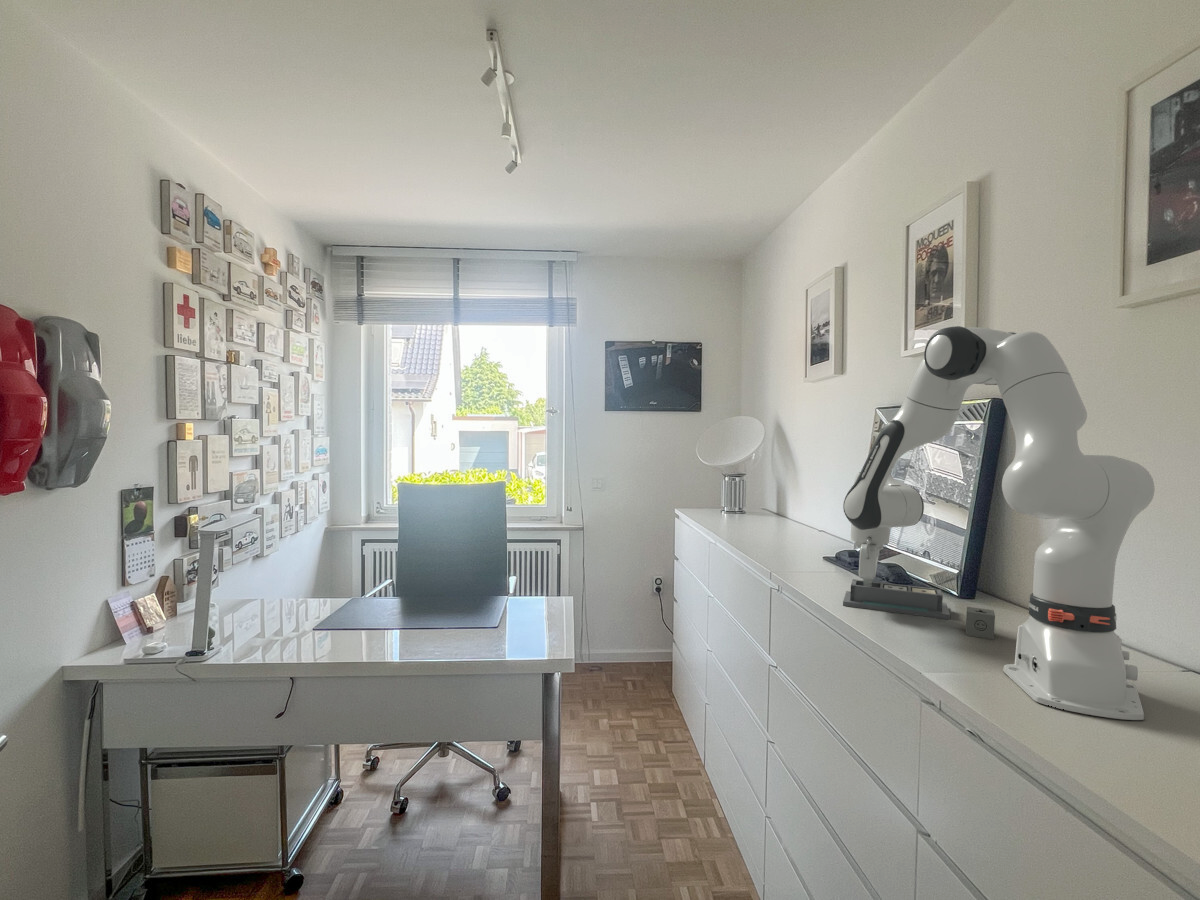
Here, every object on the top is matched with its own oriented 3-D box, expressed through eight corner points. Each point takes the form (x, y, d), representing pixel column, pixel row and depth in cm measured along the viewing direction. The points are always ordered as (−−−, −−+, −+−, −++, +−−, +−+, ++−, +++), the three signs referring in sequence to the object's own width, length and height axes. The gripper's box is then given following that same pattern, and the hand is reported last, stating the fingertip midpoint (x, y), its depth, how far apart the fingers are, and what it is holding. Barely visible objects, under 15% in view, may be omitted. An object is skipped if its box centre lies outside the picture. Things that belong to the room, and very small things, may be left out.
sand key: (935, 602, 154) (936, 594, 154) (912, 599, 156) (912, 591, 156) (934, 597, 158) (934, 589, 158) (911, 595, 160) (912, 587, 160)
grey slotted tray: (949, 619, 150) (950, 598, 149) (842, 605, 159) (843, 586, 159) (946, 607, 160) (946, 588, 160) (846, 594, 170) (846, 576, 170)
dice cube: (966, 635, 138) (967, 611, 138) (965, 629, 142) (966, 606, 142) (993, 639, 135) (995, 615, 135) (992, 633, 140) (993, 610, 140)
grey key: (906, 599, 156) (907, 590, 156) (883, 596, 158) (884, 588, 158) (906, 594, 161) (906, 586, 161) (884, 591, 163) (884, 584, 163)
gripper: (883, 542, 151) (880, 601, 152) (884, 530, 170) (881, 583, 170) (853, 539, 154) (851, 597, 154) (858, 528, 172) (856, 580, 173)
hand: (867, 590), depth 162 cm, fingers closed, pressing on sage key
